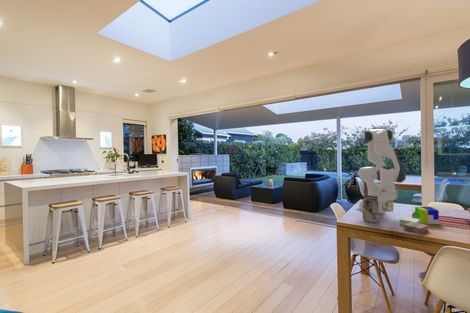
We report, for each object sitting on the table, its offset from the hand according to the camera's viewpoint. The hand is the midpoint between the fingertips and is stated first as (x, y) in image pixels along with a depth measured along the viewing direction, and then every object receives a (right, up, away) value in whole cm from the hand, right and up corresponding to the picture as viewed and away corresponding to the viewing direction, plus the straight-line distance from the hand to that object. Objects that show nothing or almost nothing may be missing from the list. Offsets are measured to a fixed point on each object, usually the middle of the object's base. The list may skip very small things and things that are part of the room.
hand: (387, 207), depth 171 cm
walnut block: (+11, -13, -13) cm, 21 cm away
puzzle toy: (+31, -12, +3) cm, 33 cm away
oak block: (0, -3, 0) cm, 3 cm away
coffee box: (-7, -13, +10) cm, 18 cm away
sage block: (+16, -13, -1) cm, 20 cm away
